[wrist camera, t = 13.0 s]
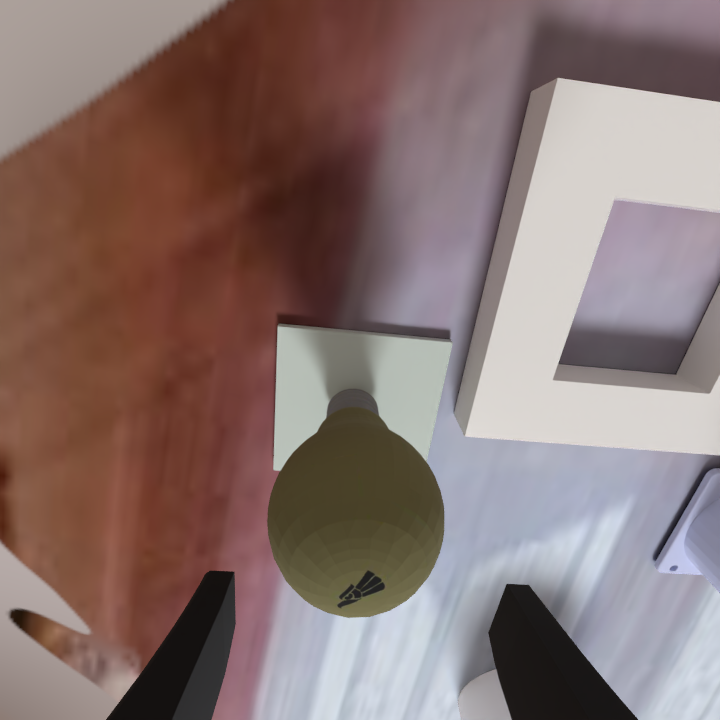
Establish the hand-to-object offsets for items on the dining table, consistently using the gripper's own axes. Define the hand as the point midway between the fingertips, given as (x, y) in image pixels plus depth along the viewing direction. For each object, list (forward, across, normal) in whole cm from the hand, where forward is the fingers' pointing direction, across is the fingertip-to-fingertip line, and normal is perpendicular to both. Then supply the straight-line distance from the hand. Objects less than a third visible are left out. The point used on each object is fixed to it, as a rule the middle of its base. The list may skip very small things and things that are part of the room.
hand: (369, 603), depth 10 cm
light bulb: (+10, 0, 0) cm, 10 cm away
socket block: (+10, -12, -7) cm, 17 cm away
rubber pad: (+10, 0, 0) cm, 10 cm away
